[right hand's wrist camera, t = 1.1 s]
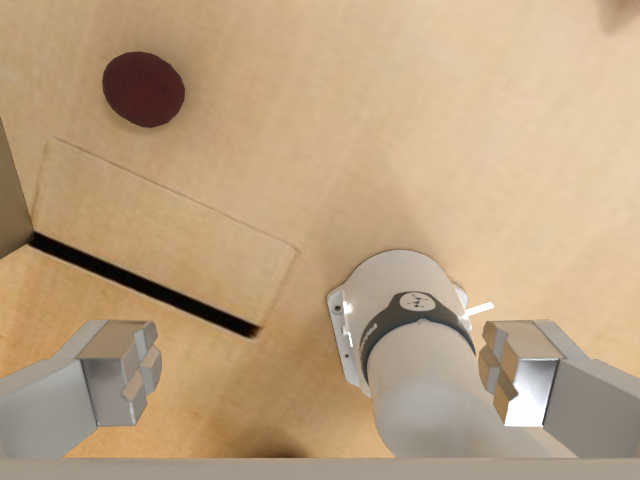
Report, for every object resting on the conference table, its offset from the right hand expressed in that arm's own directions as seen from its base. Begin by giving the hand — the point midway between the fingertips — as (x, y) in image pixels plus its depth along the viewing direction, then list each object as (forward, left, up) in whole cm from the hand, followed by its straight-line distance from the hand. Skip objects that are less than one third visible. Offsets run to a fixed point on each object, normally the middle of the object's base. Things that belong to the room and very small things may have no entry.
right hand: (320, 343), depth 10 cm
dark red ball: (+5, +18, -41) cm, 45 cm away
